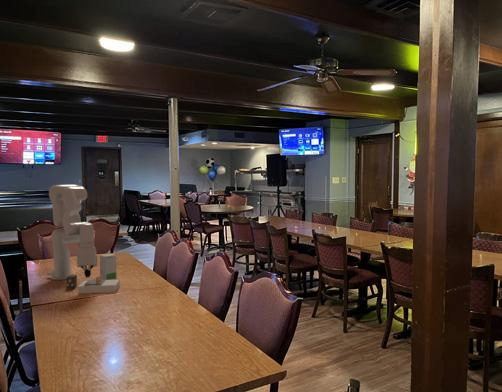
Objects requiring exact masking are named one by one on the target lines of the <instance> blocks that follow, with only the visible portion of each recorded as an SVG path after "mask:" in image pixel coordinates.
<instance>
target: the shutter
mask: <svg viewBox="0 0 502 392" xmlns="http://www.w3.org/2000/svg"><path fill="white" fill-rule="evenodd" d="M86 281H87V282H86V283H85V284H84V285H101V284H102V283H103V282H104V281H105V279H101V274H100V273H98V274H97V275H96V277H95V279H88V280H86Z"/></svg>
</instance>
